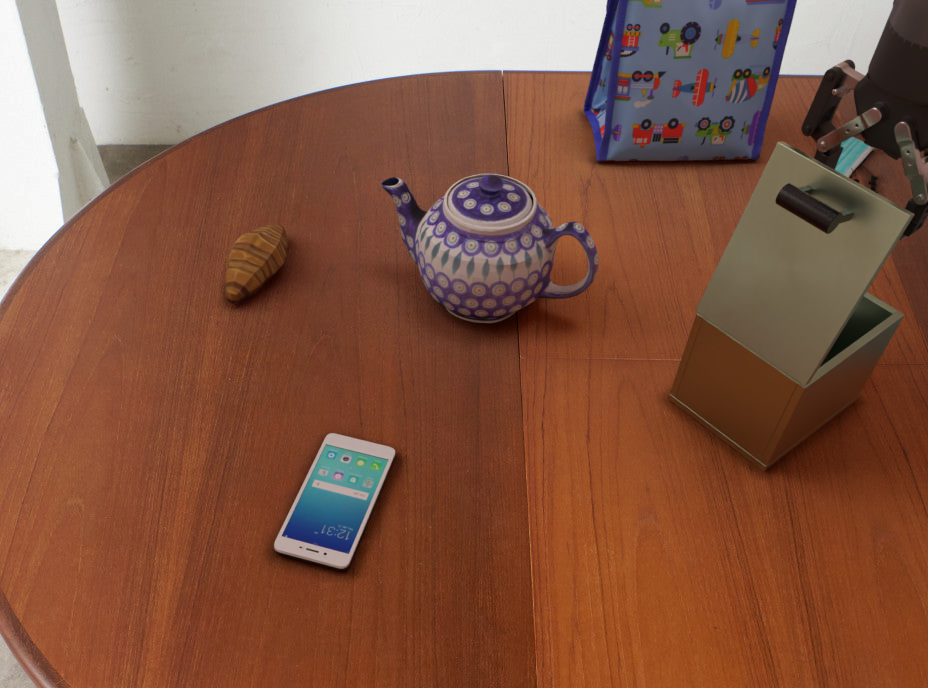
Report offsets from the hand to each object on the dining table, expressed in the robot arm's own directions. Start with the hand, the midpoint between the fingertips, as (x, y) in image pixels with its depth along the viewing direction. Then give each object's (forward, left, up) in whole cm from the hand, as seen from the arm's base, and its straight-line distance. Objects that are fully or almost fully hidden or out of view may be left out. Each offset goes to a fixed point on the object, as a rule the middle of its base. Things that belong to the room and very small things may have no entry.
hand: (858, 210), depth 82 cm
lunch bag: (-27, -39, -23) cm, 53 cm away
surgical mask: (-42, -21, -23) cm, 52 cm away
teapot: (+14, -31, -23) cm, 41 cm away
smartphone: (+45, -17, -23) cm, 53 cm away
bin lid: (+7, 0, -2) cm, 8 cm away
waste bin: (+2, 0, -23) cm, 23 cm away
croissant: (+32, -50, -23) cm, 64 cm away
